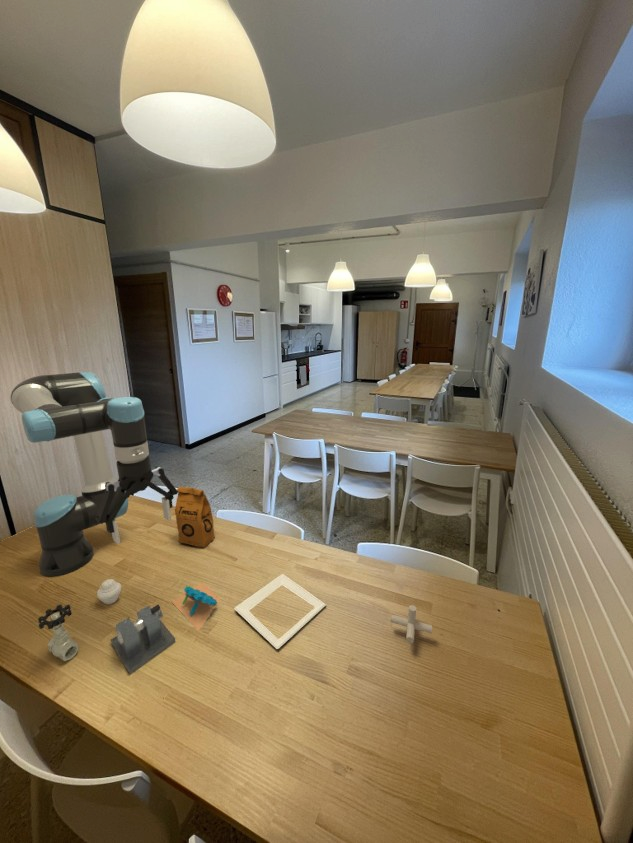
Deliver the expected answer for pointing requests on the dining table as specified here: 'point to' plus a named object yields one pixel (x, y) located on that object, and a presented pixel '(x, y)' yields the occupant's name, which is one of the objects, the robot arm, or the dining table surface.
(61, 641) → the valve
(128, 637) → the shaft stand
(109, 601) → the white rounded lump
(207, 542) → the coffee package
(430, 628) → the pipe connector
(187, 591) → the gear
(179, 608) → the pad
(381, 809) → the dining table surface
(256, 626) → the white square picture frame
